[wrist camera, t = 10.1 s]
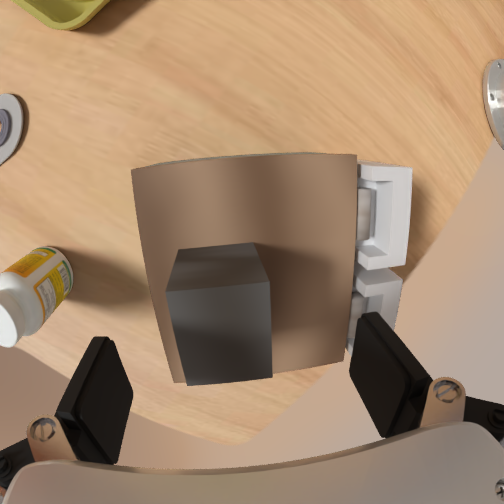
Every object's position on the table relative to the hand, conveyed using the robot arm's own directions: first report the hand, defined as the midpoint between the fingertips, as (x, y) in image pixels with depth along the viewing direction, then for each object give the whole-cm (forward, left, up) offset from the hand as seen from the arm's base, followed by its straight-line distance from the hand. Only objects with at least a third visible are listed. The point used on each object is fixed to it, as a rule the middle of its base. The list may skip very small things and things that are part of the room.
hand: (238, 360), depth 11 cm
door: (-2, 0, -8) cm, 8 cm away
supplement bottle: (+17, +1, -15) cm, 22 cm away
